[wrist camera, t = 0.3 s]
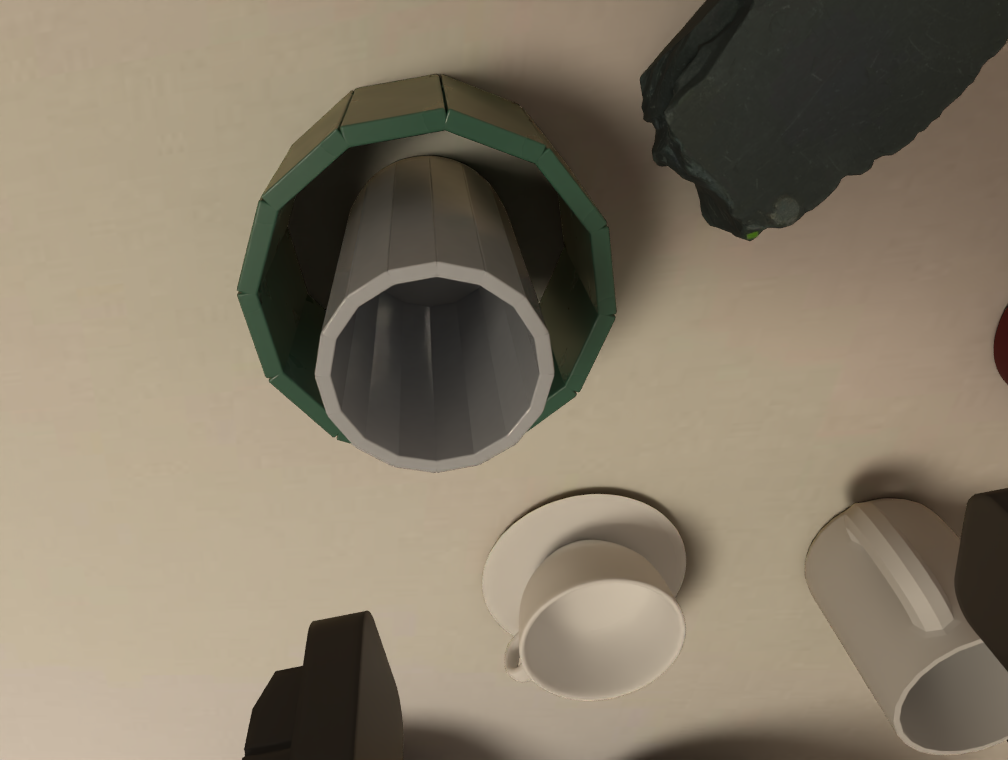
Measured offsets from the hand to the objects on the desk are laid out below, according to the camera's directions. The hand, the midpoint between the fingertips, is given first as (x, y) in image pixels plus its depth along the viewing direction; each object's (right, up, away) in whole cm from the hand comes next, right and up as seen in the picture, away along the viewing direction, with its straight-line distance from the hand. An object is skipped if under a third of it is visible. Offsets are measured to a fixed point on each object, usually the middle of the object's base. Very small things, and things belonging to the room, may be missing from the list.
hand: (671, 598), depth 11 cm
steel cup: (-5, +8, +19) cm, 21 cm away
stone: (+8, +14, +18) cm, 24 cm away
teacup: (+2, -6, +28) cm, 29 cm away
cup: (+15, -5, +29) cm, 33 cm away
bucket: (-5, +8, +19) cm, 21 cm away
